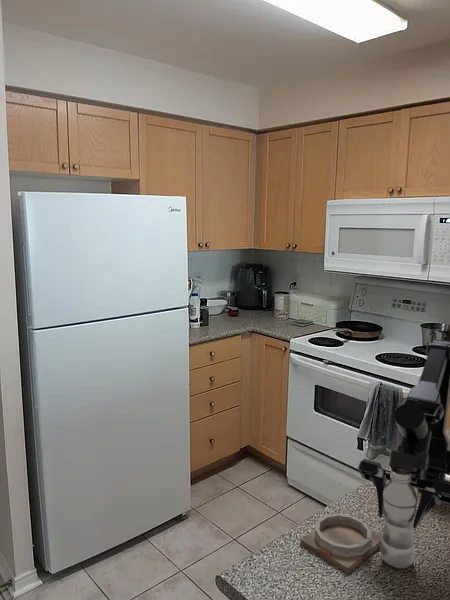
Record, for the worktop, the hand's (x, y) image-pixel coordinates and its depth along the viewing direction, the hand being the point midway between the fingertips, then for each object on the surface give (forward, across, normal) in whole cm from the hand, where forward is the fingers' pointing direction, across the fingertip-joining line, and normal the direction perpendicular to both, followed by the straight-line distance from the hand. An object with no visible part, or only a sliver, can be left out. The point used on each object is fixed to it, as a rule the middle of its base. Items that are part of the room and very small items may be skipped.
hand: (397, 522), depth 95 cm
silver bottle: (+6, 0, +8) cm, 10 cm away
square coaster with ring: (+6, -11, +8) cm, 15 cm away
